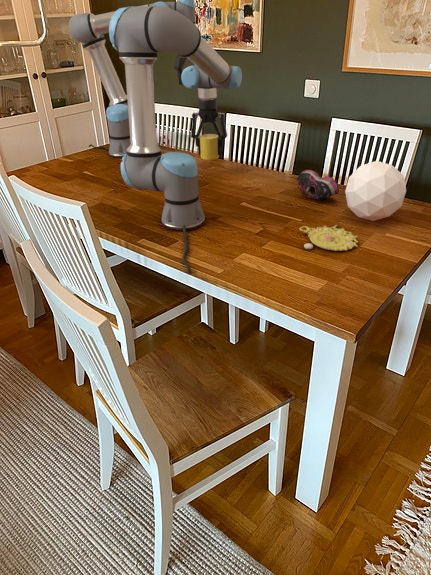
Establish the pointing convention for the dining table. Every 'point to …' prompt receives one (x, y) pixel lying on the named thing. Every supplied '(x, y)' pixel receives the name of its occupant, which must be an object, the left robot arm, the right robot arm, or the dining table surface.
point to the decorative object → (330, 238)
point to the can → (209, 146)
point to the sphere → (375, 190)
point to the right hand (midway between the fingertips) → (209, 154)
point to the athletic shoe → (317, 185)
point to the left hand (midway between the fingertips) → (190, 83)
